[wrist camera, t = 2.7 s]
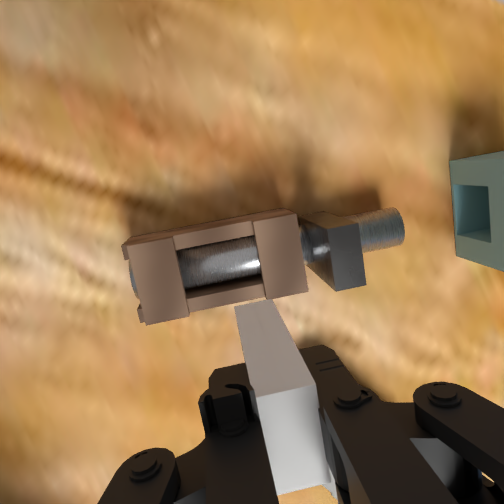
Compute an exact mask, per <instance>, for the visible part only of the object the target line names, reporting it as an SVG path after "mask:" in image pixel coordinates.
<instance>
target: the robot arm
mask: <svg viewBox="0 0 504 504" xmlns="http://www.w3.org/2000/svg"><path fill="white" fill-rule="evenodd" d="M234 309H235V314H236V319H237V324H238V329H239V334H240V339H241V344H242V350H243V355H244V360H245V363H241V364H237V365H232V366H228V367H223V368H218V369H215V370H214V371H213V373H212V374H211V376H210V377H209V389H207V390H206V391H205V392H204V393H203V394H202V395H201V396H200V399H199V401H198V404H199V409H200V413H201V417H202V422H203V426H204V431H205V439H204V440H203V441H202V442H201V443H200V444H199V445H198V446H197V447H195V448H194V449H192V450H191V451H189V452H187V453H185V454H183V455H181V456H179V457H177V458H175V456H174V454H173V452H171V451H169V450H168V449H166V448H152V449H147V450H143V451H141V452H139V453H137V454H135V455H133V456H131V457H130V458H129V459H127V460H126V461H125V462H124V463H123V464H122V465H121V466H120V467H119V469H118V470H117V471H116V473H115V475H114V476H113V478H112V480H111V481H110V483H109V485H108V487H107V488H106V490H105V492H104V493H103V495H102V497H101V498H100V500H99V502H98V504H279V501H278V497H277V495H281V494H285V493H289V492H293V491H297V490H301V489H306V488H310V487H314V486H318V485H322V484H326V483H330V482H331V476H330V470H331V472H332V475H333V477H334V479H335V486H336V492H337V498H338V504H504V408H502V407H500V406H498V405H496V404H495V403H493V402H491V401H489V400H487V399H485V398H484V397H482V396H480V395H478V394H476V393H475V392H473V391H471V390H469V389H467V388H465V387H462V386H460V385H457V384H453V383H447V382H432V383H428V384H424V385H422V386H420V387H419V388H417V389H416V390H415V392H414V394H413V401H414V402H412V403H391V402H383V401H381V400H380V399H379V398H378V396H377V395H376V394H375V393H374V392H373V391H371V390H370V389H368V388H365V387H362V386H358V384H357V383H356V381H355V380H354V379H353V377H352V376H351V374H350V373H349V372H348V370H347V369H346V367H345V366H344V365H343V363H342V362H341V360H339V357H338V356H337V355H336V353H335V352H334V350H332V349H330V348H328V347H326V346H324V345H319V346H314V347H309V348H305V349H300V350H298V348H297V347H296V345H295V343H294V341H293V339H292V337H291V335H290V333H289V331H288V329H287V327H286V325H285V323H284V321H283V319H282V318H281V316H280V314H279V312H278V310H277V308H276V306H275V304H274V302H273V300H272V299H268V300H264V301H259V302H254V303H249V304H244V305H239V306H235V307H234ZM329 468H330V470H329ZM482 472H483V473H484V474H486V475H487V476H488V477H490V478H491V479H492V480H493V481H494V482H492V481H490V480H489V479H487V478H486V477H485V476H483V475H482Z"/></svg>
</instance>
